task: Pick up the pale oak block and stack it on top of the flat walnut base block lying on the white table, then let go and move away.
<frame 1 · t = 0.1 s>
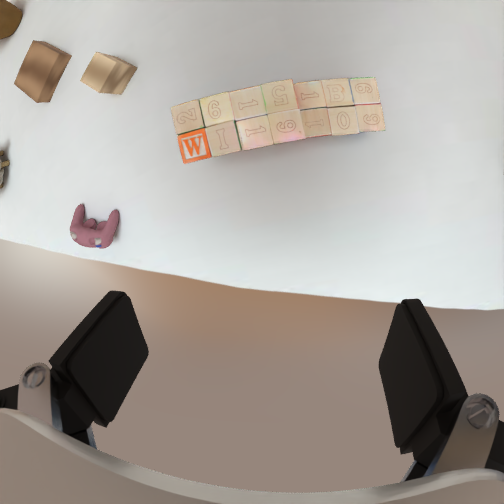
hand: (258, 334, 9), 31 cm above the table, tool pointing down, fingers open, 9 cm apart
oak block: (119, 75, 32), on the table
stack of blocks: (284, 117, 34), on the table
toy sheep: (3, 168, 42), on the table
plant pot: (14, 23, 24), on the table
base block: (47, 70, 32), on the table
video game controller: (101, 220, 44), on the table
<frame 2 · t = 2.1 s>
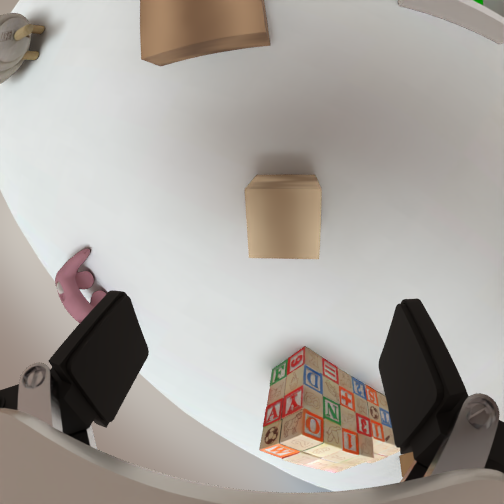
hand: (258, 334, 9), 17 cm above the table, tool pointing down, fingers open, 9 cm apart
oak block: (286, 202, 24), on the table
stack of blocks: (341, 388, 34), on the table
toy sheep: (27, 52, 18), on the table
base block: (209, 3, 17), on the table
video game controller: (100, 282, 32), on the table
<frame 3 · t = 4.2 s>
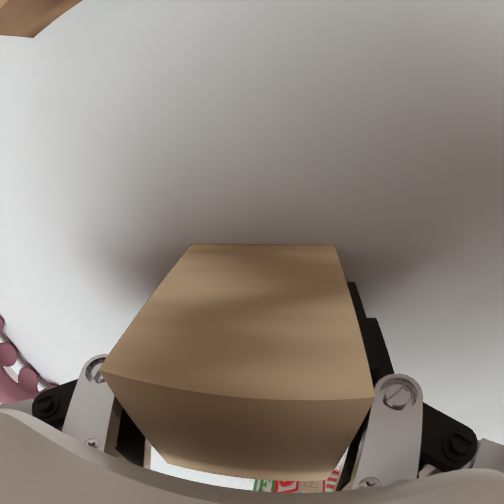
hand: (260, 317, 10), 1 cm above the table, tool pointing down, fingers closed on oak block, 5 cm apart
oak block: (263, 304, 10), on the table, touching gripper
stack of blocks: (346, 481, 21), on the table
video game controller: (26, 356, 18), on the table
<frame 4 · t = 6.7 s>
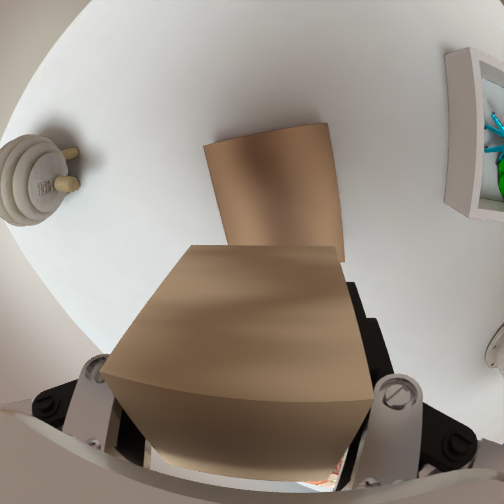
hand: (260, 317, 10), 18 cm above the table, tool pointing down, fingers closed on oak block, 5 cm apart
oak block: (263, 305, 10), point 17 cm above the table, touching gripper
green blue spiky piece: (503, 150, 19), resting in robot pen
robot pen: (491, 139, 18), on the table
toy sheep: (61, 170, 27), on the table
base block: (280, 193, 26), on the table
when the fingers open (6 cm above the table, at t = 9.2 s): oak block drops 2 cm, resting on base block.
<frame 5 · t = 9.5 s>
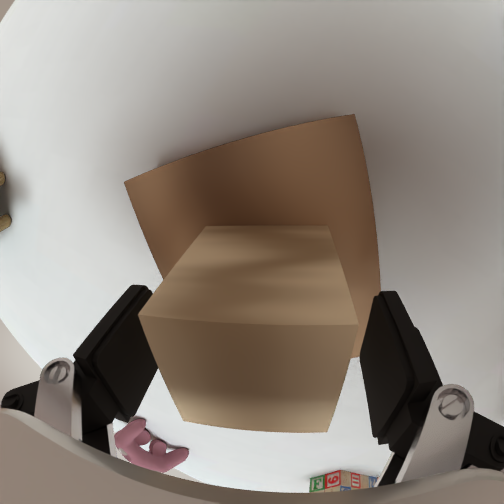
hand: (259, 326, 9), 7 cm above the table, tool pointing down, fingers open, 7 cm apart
oak block: (267, 279, 12), point 3 cm above the table, touching base block
stack of blocks: (358, 480, 33), on the table
base block: (273, 243, 16), on the table, touching oak block
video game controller: (156, 434, 30), on the table
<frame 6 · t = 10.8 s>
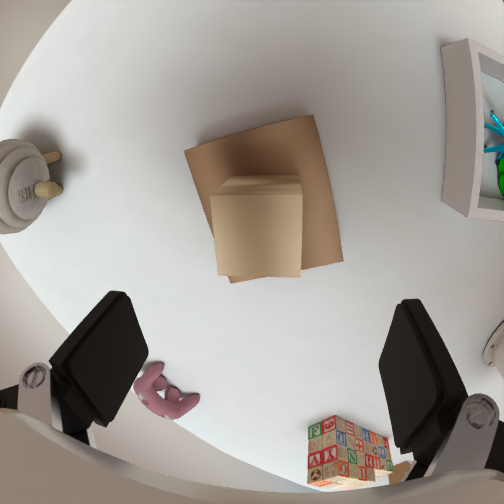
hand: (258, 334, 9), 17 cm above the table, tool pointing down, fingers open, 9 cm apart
oak block: (265, 207, 21), point 4 cm above the table
green blue spiky piece: (503, 147, 18), resting in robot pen
toy building blocks: (411, 464, 55), on the table
stack of blocks: (352, 433, 42), on the table
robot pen: (489, 134, 18), on the table
toy sheep: (44, 174, 25), on the table
base block: (270, 193, 24), on the table
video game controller: (171, 381, 39), on the table
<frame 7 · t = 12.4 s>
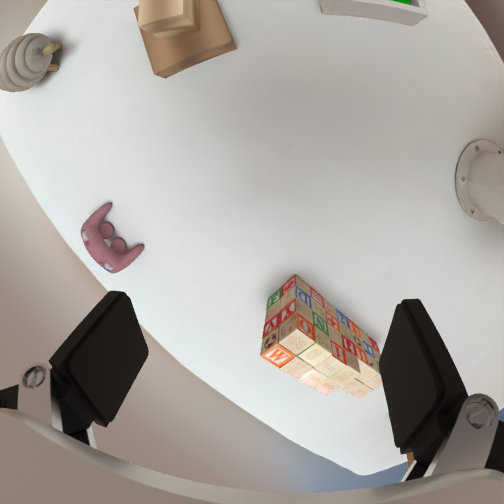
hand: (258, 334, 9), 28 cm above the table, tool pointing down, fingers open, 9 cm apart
oak block: (179, 19, 22), point 3 cm above the table
stack of blocks: (327, 322, 43), on the table
toy sheep: (47, 64, 28), on the table
base block: (188, 29, 26), on the table
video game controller: (118, 233, 40), on the table
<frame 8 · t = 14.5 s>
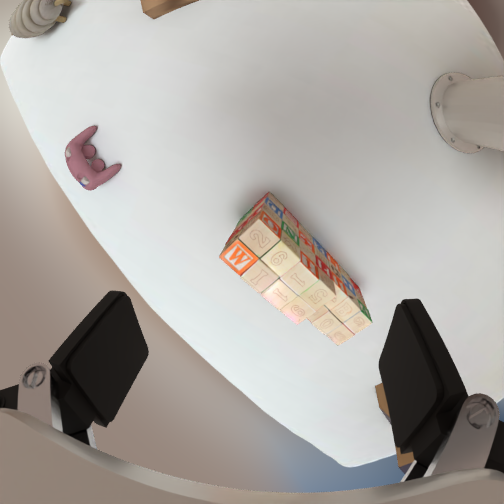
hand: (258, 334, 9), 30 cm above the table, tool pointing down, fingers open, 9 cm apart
toy building blocks: (407, 391, 53), on the table
stack of blocks: (303, 254, 41), on the table
toy sheep: (57, 18, 26), on the table
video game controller: (100, 155, 38), on the table
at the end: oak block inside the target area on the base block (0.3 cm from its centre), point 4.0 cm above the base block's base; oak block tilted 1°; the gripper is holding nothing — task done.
